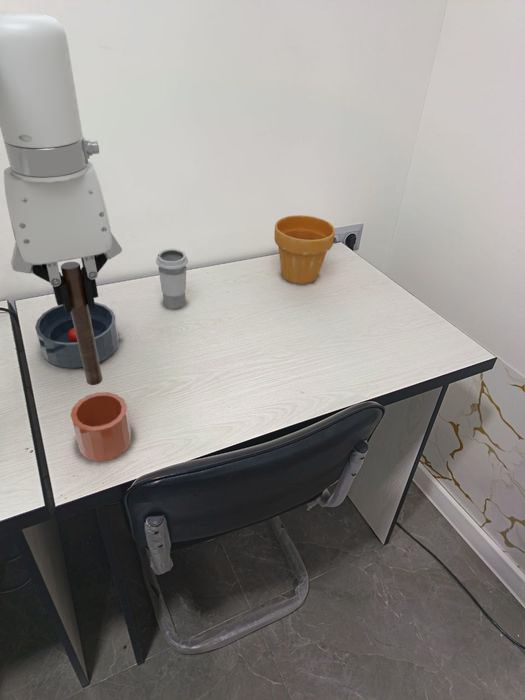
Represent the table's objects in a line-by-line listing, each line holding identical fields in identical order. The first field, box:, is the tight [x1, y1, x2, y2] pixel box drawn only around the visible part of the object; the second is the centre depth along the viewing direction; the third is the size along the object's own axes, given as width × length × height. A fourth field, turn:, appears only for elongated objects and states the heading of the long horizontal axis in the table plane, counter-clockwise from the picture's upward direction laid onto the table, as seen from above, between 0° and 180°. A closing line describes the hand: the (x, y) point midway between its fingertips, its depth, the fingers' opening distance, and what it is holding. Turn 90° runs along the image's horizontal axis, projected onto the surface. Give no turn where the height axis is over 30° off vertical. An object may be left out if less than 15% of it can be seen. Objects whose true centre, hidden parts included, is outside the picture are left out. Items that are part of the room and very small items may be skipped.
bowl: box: [34, 301, 120, 369], centre depth 95 cm, size 14×14×6 cm
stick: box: [60, 261, 104, 386], centre depth 65 cm, size 2×2×18 cm
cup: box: [155, 248, 189, 310], centre depth 107 cm, size 7×7×12 cm
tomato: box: [68, 328, 77, 342], centre depth 96 cm, size 3×3×3 cm
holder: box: [70, 391, 132, 462], centre depth 76 cm, size 8×8×7 cm
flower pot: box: [273, 214, 336, 285], centre depth 120 cm, size 14×14×13 cm
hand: (78, 304), depth 63 cm, fingers closed on stick, 2 cm apart
